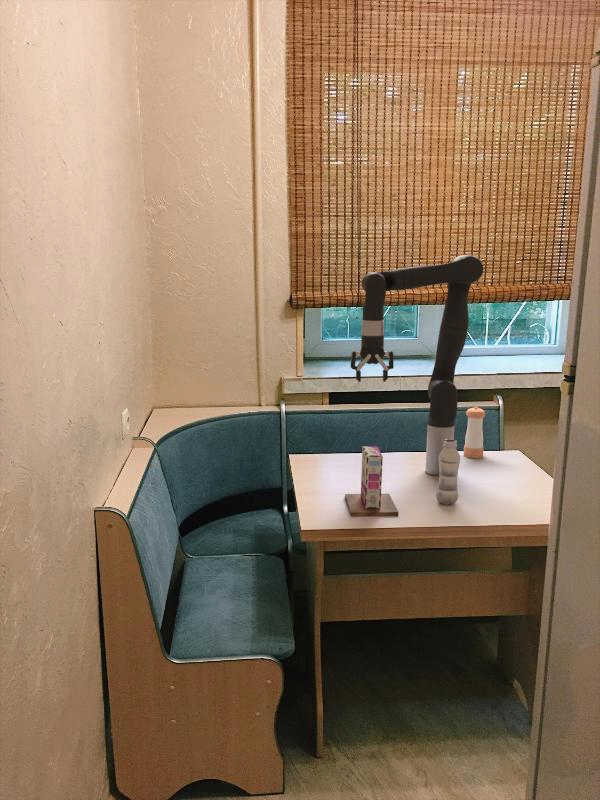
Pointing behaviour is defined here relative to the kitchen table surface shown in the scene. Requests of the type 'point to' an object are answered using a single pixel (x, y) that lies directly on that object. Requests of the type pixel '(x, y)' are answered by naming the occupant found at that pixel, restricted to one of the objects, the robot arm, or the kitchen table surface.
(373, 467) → the candy bar box
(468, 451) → the pepper shaker
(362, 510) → the walnut board
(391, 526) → the kitchen table surface
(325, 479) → the kitchen table surface
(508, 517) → the kitchen table surface
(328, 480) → the kitchen table surface
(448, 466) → the plastic bottle
